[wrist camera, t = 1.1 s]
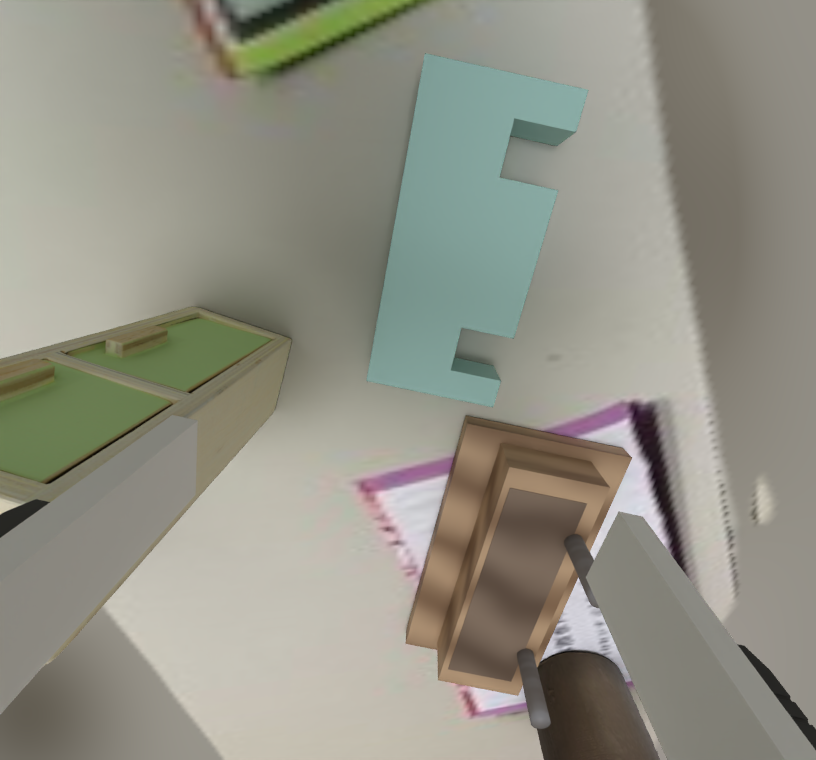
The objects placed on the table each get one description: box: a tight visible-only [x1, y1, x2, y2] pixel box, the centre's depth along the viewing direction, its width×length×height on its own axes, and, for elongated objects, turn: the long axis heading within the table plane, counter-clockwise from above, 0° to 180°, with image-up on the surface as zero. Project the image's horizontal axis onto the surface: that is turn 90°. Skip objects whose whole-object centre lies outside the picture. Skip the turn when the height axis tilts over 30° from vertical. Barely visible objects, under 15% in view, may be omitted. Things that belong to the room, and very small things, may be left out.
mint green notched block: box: [367, 53, 588, 407], centre depth 26 cm, size 19×9×4 cm, turn 168°
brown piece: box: [406, 416, 632, 729], centre depth 31 cm, size 24×13×10 cm, turn 168°
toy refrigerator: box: [0, 307, 292, 665], centre depth 21 cm, size 8×7×21 cm
